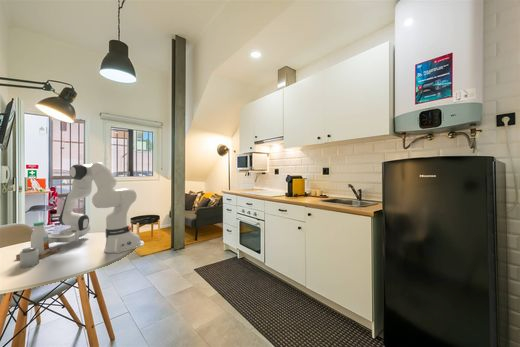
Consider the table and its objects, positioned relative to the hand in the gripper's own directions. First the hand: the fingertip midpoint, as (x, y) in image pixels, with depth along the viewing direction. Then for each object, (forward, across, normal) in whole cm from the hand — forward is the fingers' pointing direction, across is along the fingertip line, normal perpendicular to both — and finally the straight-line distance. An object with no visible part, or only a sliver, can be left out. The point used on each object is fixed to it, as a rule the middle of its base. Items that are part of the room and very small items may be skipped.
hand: (46, 242), depth 135 cm
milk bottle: (+4, 0, +6) cm, 7 cm away
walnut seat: (+4, 0, +6) cm, 7 cm away
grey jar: (+18, +10, +6) cm, 21 cm away
